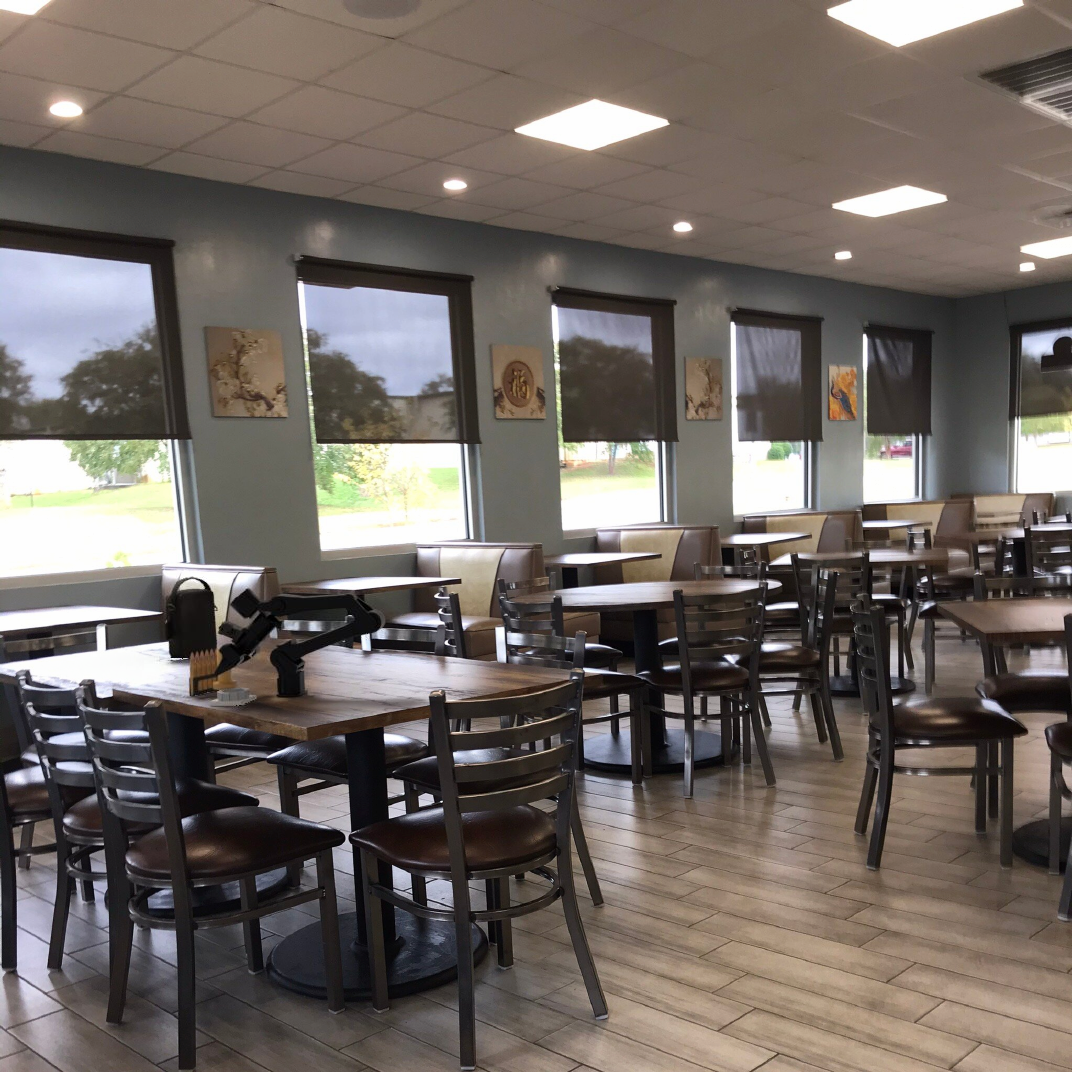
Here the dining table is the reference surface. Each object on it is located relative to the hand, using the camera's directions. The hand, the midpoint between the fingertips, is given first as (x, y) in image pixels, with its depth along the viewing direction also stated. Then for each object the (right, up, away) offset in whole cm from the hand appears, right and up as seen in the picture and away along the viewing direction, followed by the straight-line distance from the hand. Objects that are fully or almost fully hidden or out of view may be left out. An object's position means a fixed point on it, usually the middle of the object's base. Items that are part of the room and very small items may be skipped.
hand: (219, 672), depth 282 cm
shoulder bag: (-35, -5, +83) cm, 90 cm away
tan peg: (+2, -7, 0) cm, 7 cm away
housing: (+6, -7, -9) cm, 13 cm away
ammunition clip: (-6, -7, +8) cm, 12 cm away
